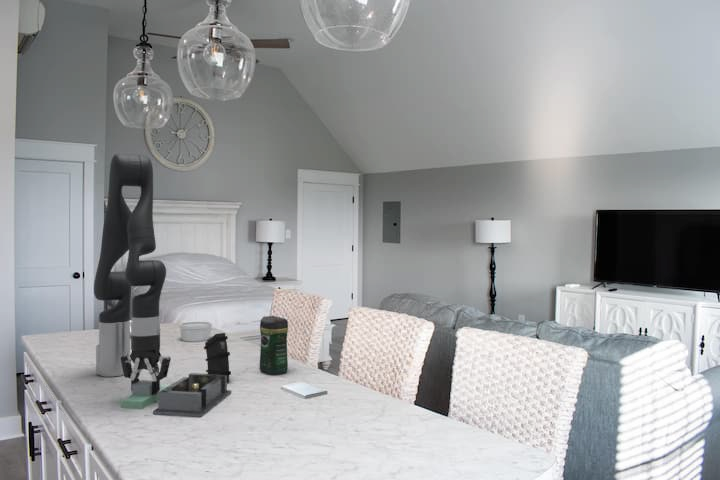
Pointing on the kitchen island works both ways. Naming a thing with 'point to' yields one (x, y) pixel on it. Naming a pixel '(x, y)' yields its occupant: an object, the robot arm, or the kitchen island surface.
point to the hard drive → (303, 390)
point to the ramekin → (195, 331)
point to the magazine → (218, 355)
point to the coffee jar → (273, 345)
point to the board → (140, 400)
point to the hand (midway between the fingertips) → (145, 393)
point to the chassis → (193, 395)
